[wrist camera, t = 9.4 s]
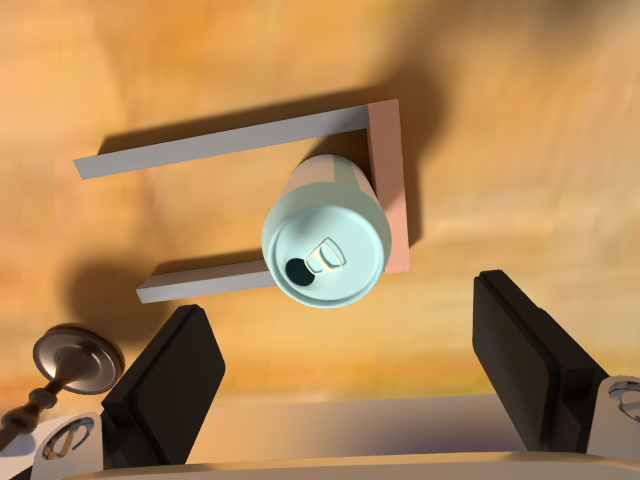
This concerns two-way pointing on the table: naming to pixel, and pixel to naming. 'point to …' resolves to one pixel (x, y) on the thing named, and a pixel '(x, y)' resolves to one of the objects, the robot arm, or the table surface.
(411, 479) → the robot arm
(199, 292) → the track
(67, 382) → the candlestick
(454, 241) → the table surface
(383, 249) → the can
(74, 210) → the table surface
